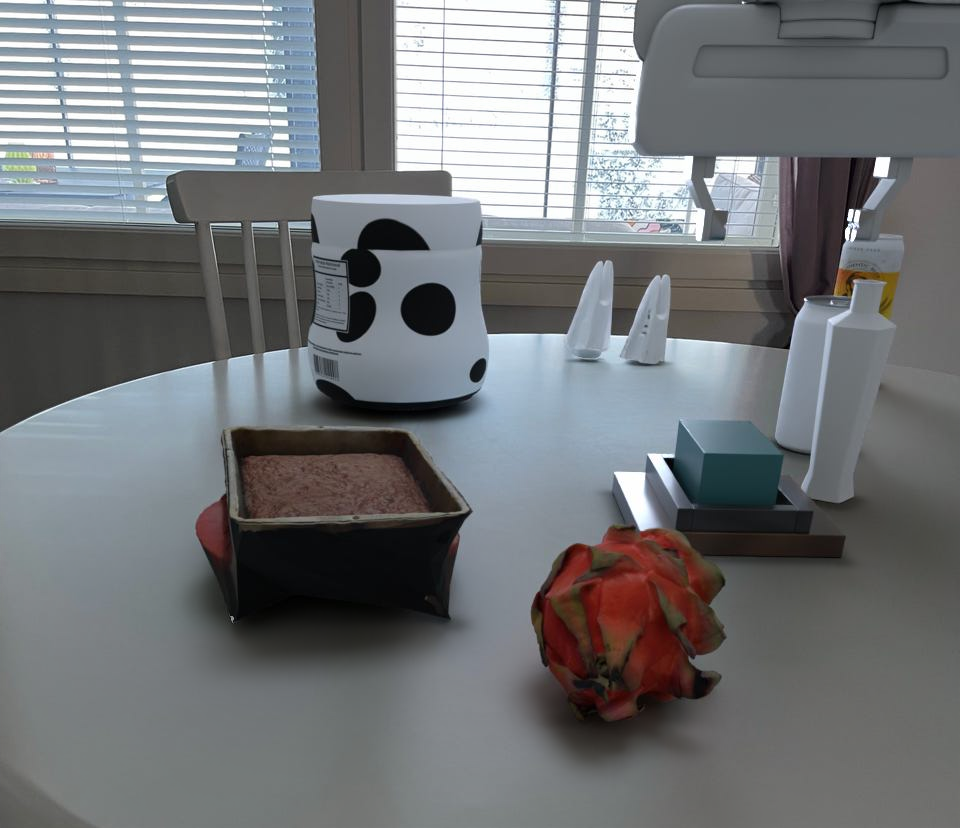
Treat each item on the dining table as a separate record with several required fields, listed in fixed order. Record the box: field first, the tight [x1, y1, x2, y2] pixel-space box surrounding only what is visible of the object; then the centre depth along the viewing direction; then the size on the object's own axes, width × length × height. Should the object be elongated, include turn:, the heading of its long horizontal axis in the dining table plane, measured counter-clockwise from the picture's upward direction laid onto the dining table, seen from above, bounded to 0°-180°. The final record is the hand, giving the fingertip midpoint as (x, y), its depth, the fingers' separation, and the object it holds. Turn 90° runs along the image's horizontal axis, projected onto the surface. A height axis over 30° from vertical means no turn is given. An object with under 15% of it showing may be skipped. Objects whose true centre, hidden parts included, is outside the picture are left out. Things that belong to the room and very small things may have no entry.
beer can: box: [833, 233, 906, 321], centre depth 101 cm, size 6×6×15 cm
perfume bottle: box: [800, 280, 898, 504], centre depth 66 cm, size 5×4×15 cm
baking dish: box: [194, 424, 474, 623], centre depth 52 cm, size 14×18×10 cm
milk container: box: [307, 193, 490, 412], centre depth 88 cm, size 17×17×18 cm
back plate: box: [612, 453, 847, 558], centre depth 64 cm, size 13×12×3 cm
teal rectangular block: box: [673, 418, 785, 505], centre depth 63 cm, size 5×8×4 cm, turn 0°
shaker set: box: [563, 259, 672, 365], centre depth 109 cm, size 12×4×11 cm, turn 82°
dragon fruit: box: [530, 523, 727, 724], centre depth 42 cm, size 8×8×12 cm
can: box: [774, 295, 852, 455], centre depth 79 cm, size 6×6×12 cm
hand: (785, 241), depth 58 cm, fingers open, 8 cm apart
